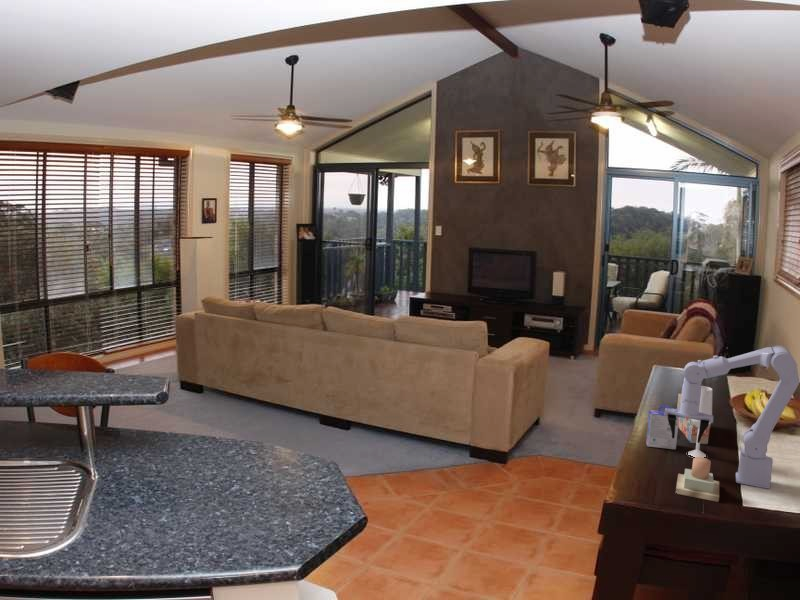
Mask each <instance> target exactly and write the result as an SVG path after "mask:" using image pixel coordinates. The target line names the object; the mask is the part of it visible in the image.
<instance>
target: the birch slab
mask: <svg viewBox="0 0 800 600" xmlns="http://www.w3.org/2000/svg"><path fill="white" fill-rule="evenodd" d="M713 481H714V486H713V493H710V492H704V491H699V490H693V489H688V488H684V474H683V473H682V474H681V473H678V474H677V480H676V487H675V494H676V493H677V494H676V495H682V496H687V497H690V498H695V499H696V498H697V499H701V500H707V501H712V502H716V503H719V501H720V481H719V480H714V479H713Z"/></svg>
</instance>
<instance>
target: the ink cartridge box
mask: <svg viewBox="0 0 800 600" xmlns="http://www.w3.org/2000/svg"><path fill="white" fill-rule="evenodd" d="M662 408H669V409H671V408H670V405H664V404H659V405H658V410H654V409H653V410H651V409H649V410H648V418H647V419H648V420H647V432H646V441H645V443H646V447H647V448H648V447H650V448H651V447H652V448H657V449H660V448H661V449H669V450H676V449H677V440H678V431H679V427H678V424H679V417H676V423H675V437H674V439H673V438H672V431H671V427H670V424H669V421H668V416H666V415H664V414H665V409H662Z"/></svg>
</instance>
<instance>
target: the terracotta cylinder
mask: <svg viewBox="0 0 800 600" xmlns="http://www.w3.org/2000/svg"><path fill="white" fill-rule="evenodd" d="M692 458H693V457H692ZM711 464H712V462H711V460H710V459H708V458H702V457H695V458H693V459H692V465H691V466H692V467H691V470H692V472H691V475H692V476H693V477H696V478H699V479H708V478H709V473H711V472H710V471H711V466H712V465H711Z"/></svg>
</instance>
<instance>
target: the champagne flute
mask: <svg viewBox="0 0 800 600" xmlns="http://www.w3.org/2000/svg"><path fill="white" fill-rule="evenodd" d="M701 387H702V389H701V397H700V406H699V412H700V413H704V414H708V415H713V388H712V387H709V386H704V385H701ZM691 420H692V422H693V424H694V425H695V426H696V427H697V428H698V434H699V429H700V421H701V420H695V419H691ZM709 424H710V422H709ZM698 434H697V441H698ZM700 446H701V444H700V443H697V442H696V443H695V449H692V450H689V451H687V452H688V455H691V456H693V457H702V458H704V457H706V455H707V454H706V453H704V452H703V451H701V449H700V448H701V447H700ZM688 455H687V456H688ZM693 457H692V458H693Z"/></svg>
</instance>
